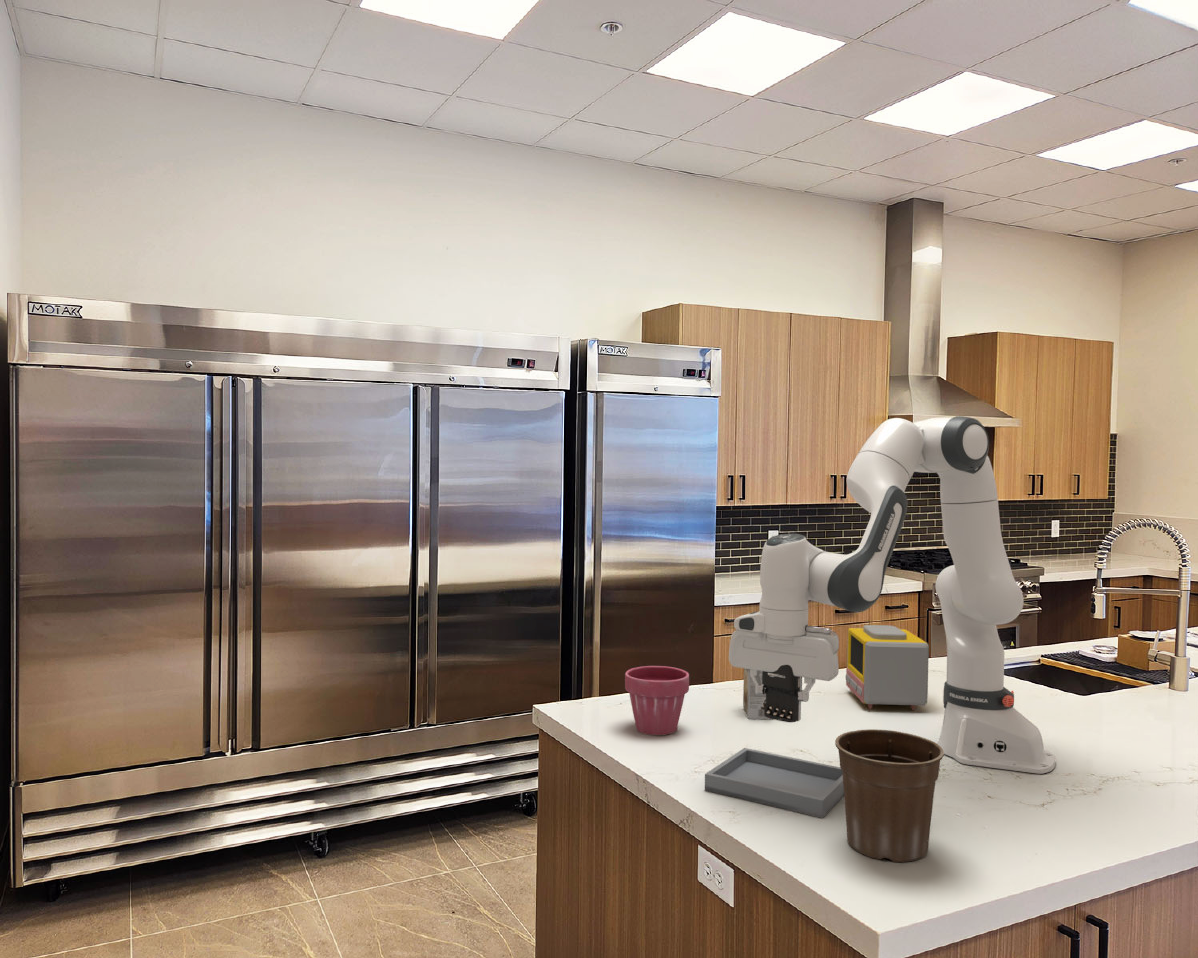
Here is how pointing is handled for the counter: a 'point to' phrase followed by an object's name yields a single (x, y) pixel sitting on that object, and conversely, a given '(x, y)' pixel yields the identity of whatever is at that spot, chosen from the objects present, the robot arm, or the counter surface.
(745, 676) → the coffee box
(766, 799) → the tray
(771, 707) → the battery charger
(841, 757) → the plant pot
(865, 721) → the counter surface
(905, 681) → the alarm clock
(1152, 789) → the counter surface
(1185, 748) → the counter surface
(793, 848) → the counter surface
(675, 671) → the plant pot
